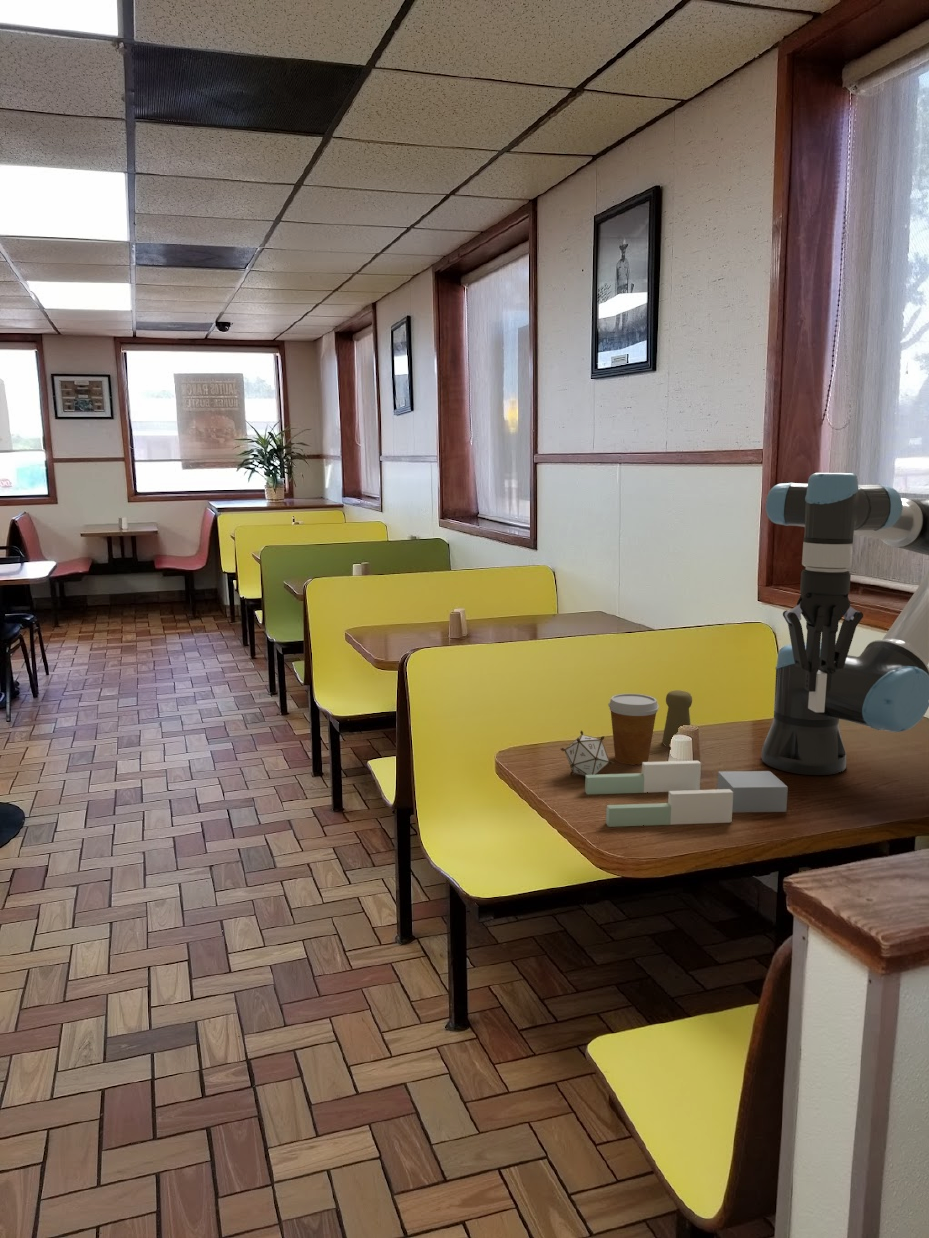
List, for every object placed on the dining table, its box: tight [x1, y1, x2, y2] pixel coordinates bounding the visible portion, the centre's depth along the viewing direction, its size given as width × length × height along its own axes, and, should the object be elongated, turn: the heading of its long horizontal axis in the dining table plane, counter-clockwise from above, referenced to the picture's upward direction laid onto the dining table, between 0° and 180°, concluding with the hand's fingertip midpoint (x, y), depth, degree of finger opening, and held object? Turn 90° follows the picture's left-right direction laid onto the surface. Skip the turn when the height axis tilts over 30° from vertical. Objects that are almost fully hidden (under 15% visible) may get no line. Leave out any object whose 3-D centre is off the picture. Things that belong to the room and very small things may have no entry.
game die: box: [560, 730, 615, 777], centre depth 168 cm, size 9×8×10 cm
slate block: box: [717, 770, 789, 813], centre depth 156 cm, size 9×8×4 cm
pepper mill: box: [661, 689, 693, 748], centre depth 188 cm, size 6×6×11 cm
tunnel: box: [584, 760, 733, 828], centre depth 154 cm, size 20×16×5 cm
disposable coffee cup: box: [607, 693, 660, 766], centre depth 178 cm, size 10×10×12 cm
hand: (816, 710), depth 155 cm, fingers closed
